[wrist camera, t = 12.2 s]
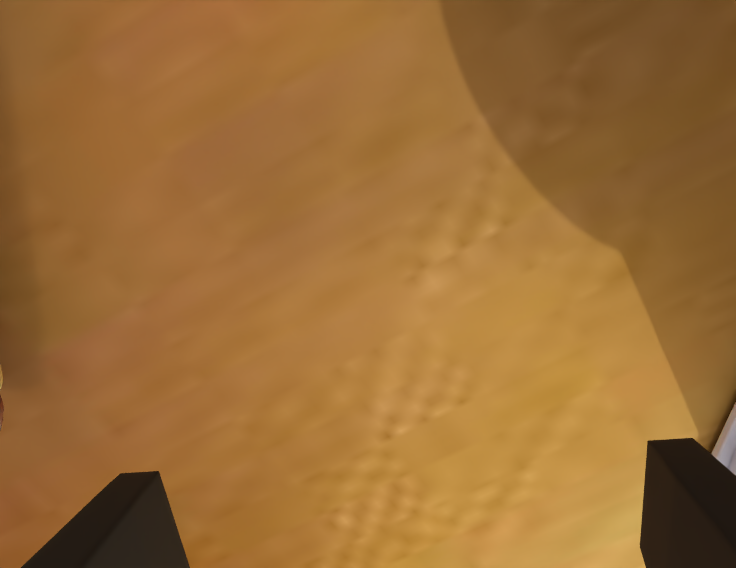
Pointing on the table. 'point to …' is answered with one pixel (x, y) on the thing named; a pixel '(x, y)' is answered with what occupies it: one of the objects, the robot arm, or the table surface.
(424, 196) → the table surface
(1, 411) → the sauce bottle
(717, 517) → the robot arm
